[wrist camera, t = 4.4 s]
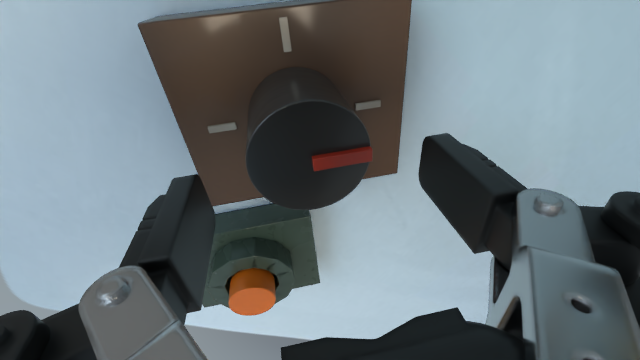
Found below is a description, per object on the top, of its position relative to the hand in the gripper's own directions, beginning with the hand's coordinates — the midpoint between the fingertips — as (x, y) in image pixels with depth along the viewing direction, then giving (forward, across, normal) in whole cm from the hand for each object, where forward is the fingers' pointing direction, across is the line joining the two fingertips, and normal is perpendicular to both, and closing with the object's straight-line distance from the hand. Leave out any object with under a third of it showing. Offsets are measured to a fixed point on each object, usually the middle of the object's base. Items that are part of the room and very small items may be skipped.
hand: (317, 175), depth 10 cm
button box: (+9, +5, +12) cm, 16 cm away
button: (+5, +5, +12) cm, 14 cm away
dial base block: (+9, 0, 0) cm, 9 cm away
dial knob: (+6, 0, 0) cm, 6 cm away
